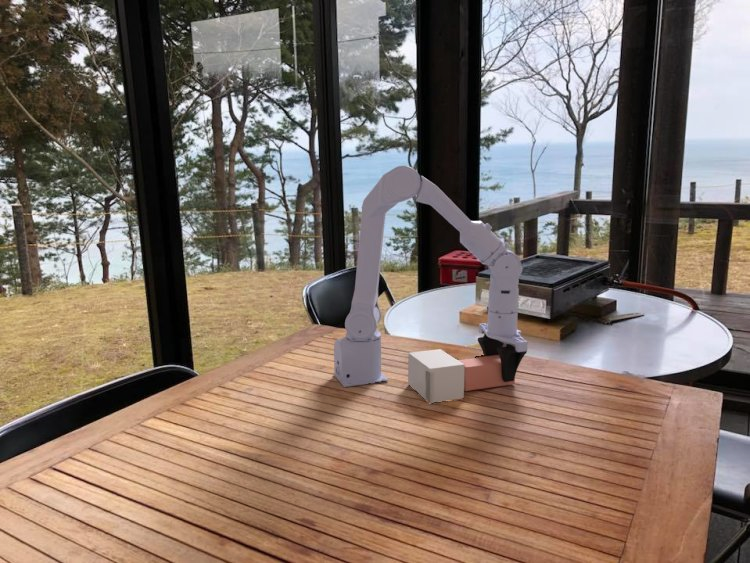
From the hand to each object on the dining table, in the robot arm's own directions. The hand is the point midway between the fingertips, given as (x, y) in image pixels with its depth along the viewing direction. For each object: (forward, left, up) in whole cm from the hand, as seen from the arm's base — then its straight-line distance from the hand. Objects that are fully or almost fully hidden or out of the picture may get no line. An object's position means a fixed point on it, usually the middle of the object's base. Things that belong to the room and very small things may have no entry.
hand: (500, 376), depth 111 cm
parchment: (+5, +20, -2) cm, 21 cm away
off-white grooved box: (-15, 0, -1) cm, 15 cm away
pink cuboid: (-4, 0, -1) cm, 4 cm away
